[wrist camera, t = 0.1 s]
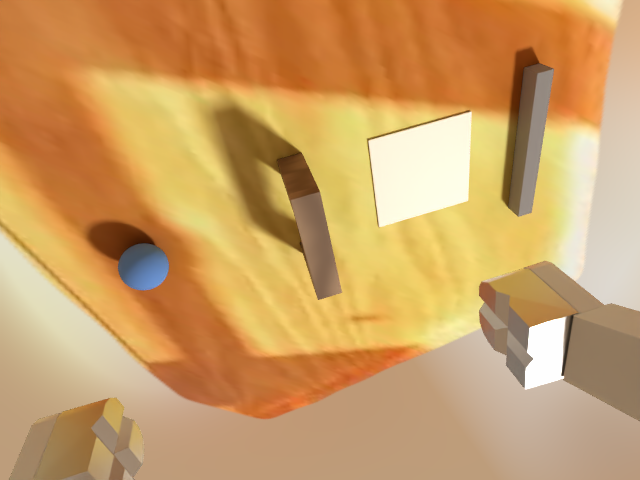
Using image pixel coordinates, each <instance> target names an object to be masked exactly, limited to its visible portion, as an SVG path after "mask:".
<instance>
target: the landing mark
mask: <svg viewBox="0 0 640 480" xmlns="http://www.w3.org/2000/svg"><path fill="white" fill-rule="evenodd" d="M471 113H472V112H471V111H469V112H466V113H462V114H459V115H455V116H452V117H448V118H445V119H441V120H438V121H434V122H430V123H427V124H423V125H420V126H416V127H413V128H409V129H406V130H402V131H399V132H395V133H392V134H388V135H384V136H381V137H377V138H374V139H370V140H368V143H369V151H370V160H371V168H372V176H373V184H374V192H375V200H376V208H377V216H378V224H379V227H382V226H385V225H388V224H392V223H395V222H398V221H402V220H405V219H409V218H412V217H415V216H419V215H422V214H425V213H429V212H432V211H435V210H439V209H442V208H445V207H449V206H452V205H456V204H459V203H462V202H466V201H468V187H469V162H470V138H471Z"/></svg>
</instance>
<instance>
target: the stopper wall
mask: <svg viewBox="0 0 640 480" xmlns="http://www.w3.org/2000/svg"><path fill="white" fill-rule="evenodd" d="M553 72H554V69H553V68H550V67H548V66H545V65H543V64H540V63H539V64H536V65H532V66H528V67H525V68H524V72H523V81H522V90H521V99H520V107H519V116H518V125H517V134H516V143H515V151H514V160H513V169H512V178H511V187H510V196H509V204H508V208H509V209H510V210H512V211H513V212H514V213H515V214H516V215H517V216H518V217H519V216H522V215H526V214H529V213H532V206H533V200H534V193H535V187H536V181H537V174H538V168H539V162H540V155H541V149H542V143H543V136H544V130H545V123H546V117H547V111H548V104H549V98H550V92H551V85H552V79H553Z"/></svg>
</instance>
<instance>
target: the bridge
mask: <svg viewBox="0 0 640 480" xmlns="http://www.w3.org/2000/svg"><path fill="white" fill-rule="evenodd" d="M277 162H278V166H279V169H280V173H281V176H282V179H283V182H284V185H285V188H286V191H287V194H288V197H289V200H290V203H291V206H292V209H293V212H294V216H295V219H296V223H297V226H298V230H299V234H300V237H301V241H302V242H300V245H301V248H302V252H303V255H304V258H305V261H306V264H307V268H308V271H309V274H310V277H311V280H312V283H313V286H314V289H315V292H316V295H317V298H318V300H320V299H323V298H326V297H329V296H333V295H336V294H339V293H342V290H341V286H340V281H339V277H338V272H337V268H336V263H335V258H334V254H333V249H332V245H331V240H330V236H329V231H328V226H327V222H326V217H325V213H324V208H323V204H322V199H321V195H320V191H319V189H318V187H317V184H316V182H315V180H314V178H313V176H312V174H311V172H310V169H309V167H308V165H307V163H306V161H305V159H304V156H303V154H302V153H299V154H296V155H292V156H288V157H285V158H281V159H278V160H277Z"/></svg>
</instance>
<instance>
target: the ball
mask: <svg viewBox="0 0 640 480" xmlns="http://www.w3.org/2000/svg"><path fill="white" fill-rule="evenodd" d="M168 270H169V263H168V259H167V257H166V255H165V253H164V252H163V251H162V250H161V249H160V248H158V247H157V246H155V245H152V244H147V243H142V244H136V245H133V246H131V247H130V248H128V249H127V250H126V251H125V252H124V253H123V254H122V256H121V257H120V260H119V264H118V271H119V275H120V277H121V279H122V280H123V282H124V283H125V284H127V285H128V286H129V287H131V288H134V289H137V290H149V289H152V288H155V287H157V286H158V285H160V284H161V283H162V282H163V281H164V279H165V278H166V276H167V274H168Z"/></svg>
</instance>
